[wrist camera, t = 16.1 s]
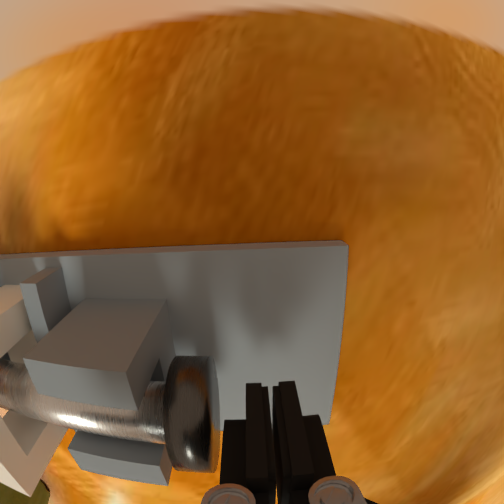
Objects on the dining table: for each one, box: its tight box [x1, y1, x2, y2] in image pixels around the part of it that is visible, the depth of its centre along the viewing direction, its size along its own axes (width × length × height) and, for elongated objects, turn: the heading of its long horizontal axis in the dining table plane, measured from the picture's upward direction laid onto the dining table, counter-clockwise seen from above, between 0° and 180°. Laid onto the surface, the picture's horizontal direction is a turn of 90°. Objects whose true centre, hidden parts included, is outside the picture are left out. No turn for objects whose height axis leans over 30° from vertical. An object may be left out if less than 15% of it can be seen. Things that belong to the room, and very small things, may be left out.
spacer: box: [0, 285, 68, 497], centre depth 10 cm, size 3×7×7 cm, turn 2°
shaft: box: [0, 356, 220, 473], centre depth 10 cm, size 14×4×4 cm, turn 92°
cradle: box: [0, 240, 349, 486], centre depth 11 cm, size 21×10×6 cm, turn 92°
